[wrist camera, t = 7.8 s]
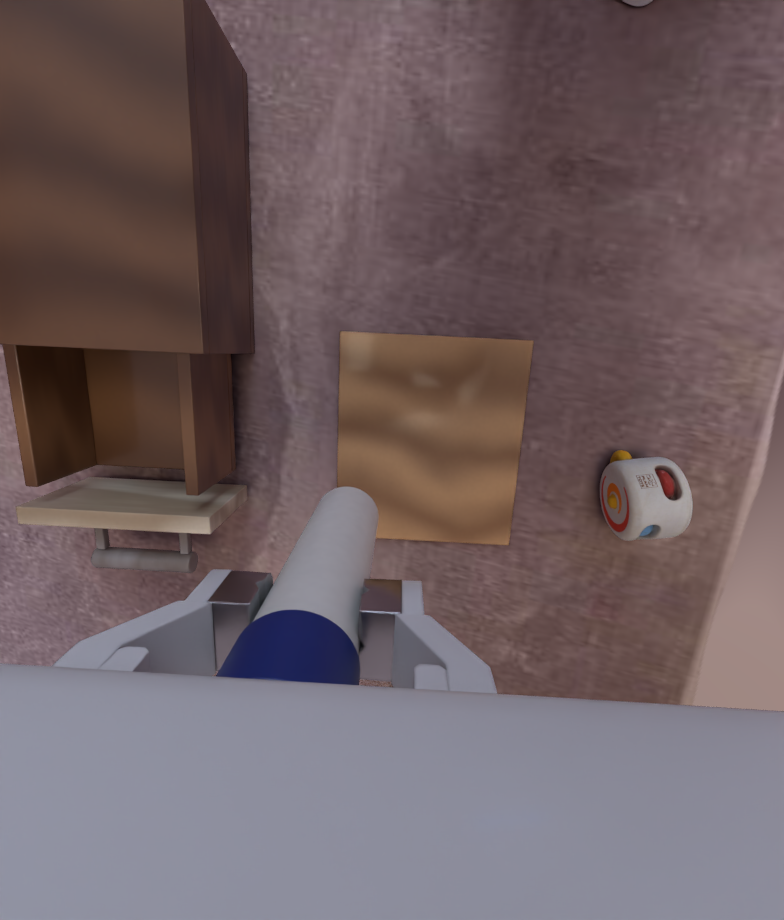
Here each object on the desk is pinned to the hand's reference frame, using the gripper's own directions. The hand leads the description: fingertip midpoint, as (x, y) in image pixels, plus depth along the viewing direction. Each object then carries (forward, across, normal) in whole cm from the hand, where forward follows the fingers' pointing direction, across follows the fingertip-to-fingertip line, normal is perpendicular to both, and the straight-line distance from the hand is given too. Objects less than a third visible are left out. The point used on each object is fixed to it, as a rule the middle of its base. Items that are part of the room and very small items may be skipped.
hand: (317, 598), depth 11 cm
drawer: (+22, +16, 0) cm, 27 cm away
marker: (+6, 0, 0) cm, 6 cm away
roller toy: (+23, -20, +3) cm, 30 cm away
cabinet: (+23, +16, -14) cm, 31 cm away
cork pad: (+23, -4, 0) cm, 23 cm away
